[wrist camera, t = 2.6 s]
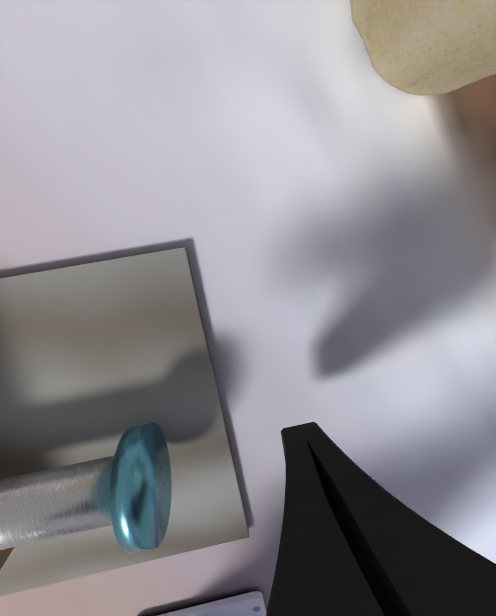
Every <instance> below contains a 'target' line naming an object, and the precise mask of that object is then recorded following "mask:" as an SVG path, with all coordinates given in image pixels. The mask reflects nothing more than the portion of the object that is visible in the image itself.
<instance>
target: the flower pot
mask: <svg viewBox="0 0 496 616" xmlns="http://www.w3.org/2000/svg"><path fill="white" fill-rule="evenodd" d="M350 3H351V13H352V19H353V22H354V24H355V27H356V28H357V30H358V31H359V33H360V35H361V38H362V40H363V42H364V44H365V47H366V50H367V52H368V55H369V57H370V60H371V63H372V65H373V68H374V69H375V71H376V72H377V73H378V74H379V75H380V76H381V77H382V78H383V79H384V80H385V81H386V82H388V83H389V84H390V85H392V86H394V87H395V88H397V89H399V90H401V91H404V92H406V93H410V94H415V95H439V94H445V93H448V92H451V91H454V90H457V89H459V88H461V87H464V86H466V85H468V84H470V83H473V82H475V81H478V80H480V79H483V78H485V77H488V76H491V75H493V74H496V0H350Z"/></svg>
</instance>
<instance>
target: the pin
mask: <svg viewBox="0 0 496 616" xmlns="http://www.w3.org/2000/svg"><path fill="white" fill-rule="evenodd" d="M171 493H172V481H171V465H170V457H169V451H168V447H167V443H166V439H165V436H164V434H163V431H162V429H161V428H160V426H159V425H158V424H157V423H154V422H152V423H147V424H142V425H138V426H133V427H130V428H128V429H127V430H126V431H125V432H124V434H123V435H122V437H121V439H120V441H119V443H118V446H117V449H116V452H115V455H114V456H109V457H105V458H100V459H95V460H90V461H86V462H81V463H76V464H72V465H67V466H62V467H57V468H53V469H48V470H43V471H39V472H34V473H29V474H24V475H20V476H15V477H10V478H6V479H1V480H0V550H4V549H8V548H12V547H17V546H21V545H26V544H30V543H34V542H39V541H43V540H48V539H52V538H56V537H61V536H65V535H70V534H74V533H78V532H83V531H87V530H92V529H96V528H100V527H105V526H109V525H113V530H114V534H115V537H116V540H117V542H118V544H119V546H120V548H121V549H122V550H123V551H124V552H125V553H128V554H131V553H136V552H140V551H144V550H149V549H153V548H157V547H158V546H159V545H160V544H161V543H162V541H163V539H164V536H165V534H166V530H167V527H168V522H169V517H170V509H171Z"/></svg>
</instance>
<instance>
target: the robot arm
mask: <svg viewBox="0 0 496 616" xmlns="http://www.w3.org/2000/svg"><path fill="white" fill-rule="evenodd" d="M281 435H282V442H283V449H284V455H285V462H286V487H285V504H284V515H283V524H282V532H281V539H280V546H279V552H278V559H277V564H276V570H275V575H274V580H273V585H272V590H271V594H270V599H269V604H268V609H267V613H266V608H265V604H264V599H263V595H262V593H261V592H259V591H253V592H249V593H245V594H241V595H237V596H233V597H229V598H225V599H221V600H217V601H213V602H209V603H205V604H201V605H197V606H193V607H189V608H185V609H181V610H177V611H173V612H169V613H165V614H161V615H157V616H496V564H495V563H493V562H491V561H490V560H488V559H486V558H485V557H483V556H481V555H480V554H478V553H476V552H475V551H473V550H471V549H470V548H468V547H466V546H465V545H463V544H462V543H460V542H459V541H457V540H456V539H454V538H452V537H451V536H449V535H448V534H446V533H445V532H443V531H442V530H440V529H439V528H437V527H436V526H434V525H432V524H431V523H429V522H428V521H426V520H425V519H424V518H422V517H421V516H419V515H418V514H417V513H415V512H414V511H412V510H411V509H410V508H408V507H407V506H406V505H404V504H403V503H402V502H400V501H399V500H398V499H396V498H395V497H394V496H392V495H391V494H390V493H389V492H387V491H386V490H385V489H384V488H383V487H381V486H380V485H379V484H378V483H377V482H375V481H374V480H373V479H372V478H371V477H370V476H368V475H367V474H366V473H365V472H364V471H363V470H362V469H361V468H359V467H358V466H357V465H356V464H355V463H354V462H353V461H352V460H351V459H350V458H349V457H348V456H347V455H346V454H345V453H344V452H343V451H342V450H341V449H340V448H339V447H338V446H337V445H336V444H335V443H334V442H333V441H332V440H331V439H330V438H329V437H328V436H327V435H326V434H325V433H324V432H323V430H322V429H321V428H320V427H319V426H318V425H317V424H316V423H315V422H311V423H306V424H302V425H297V426H292V427H288V428H283V430H282V431H281Z"/></svg>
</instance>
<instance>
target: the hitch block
mask: <svg viewBox="0 0 496 616" xmlns="http://www.w3.org/2000/svg"><path fill="white" fill-rule="evenodd" d="M152 422H154V423H157V424H158V425H159V426H160V428H161V429H162V431H163V434H164V436H165V439H166V443H167V447H168V451H169V457H170V465H171V481H172V493H171V509H170V517H169V522H168V527H167V530H166V534H165V536H164V539H163V541H162V543H161V544H160V545H159V546H158V547H157V548H153V549H149V550H144V551H140V552H136V553H131V554H128V553H125V552H124V551H123V550H122V549H121V548H120V546H119V544H118V542H117V540H116V537H115V534H114V530H113V525H109V526H105V527H100V528H96V529H92V530H87V531H83V532H78V533H74V534H70V535H65V536H61V537H56V538H52V539H48V540H43V541H39V542H34V543H30V544H26V545H21V546H17V547H12V548H8V549H4V550H0V596H3V595H7V594H11V593H15V592H19V591H24V590H28V589H32V588H36V587H41V586H45V585H49V584H53V583H57V582H62V581H66V580H70V579H74V578H78V577H83V576H87V575H91V574H95V573H100V572H104V571H108V570H112V569H116V568H121V567H125V566H129V565H133V564H138V563H142V562H146V561H150V560H154V559H159V558H163V557H167V556H171V555H175V554H180V553H184V552H188V551H192V550H197V549H201V548H205V547H209V546H213V545H218V544H222V543H226V542H230V541H234V540H239V539H243V538H247V537H249V530H248V525H247V521H246V516H245V512H244V507H243V503H242V498H241V494H240V489H239V485H238V480H237V476H236V471H235V467H234V462H233V458H232V453H231V449H230V444H229V440H228V435H227V431H226V426H225V422H224V417H223V413H222V408H221V404H220V399H219V395H218V390H217V386H216V381H215V377H214V372H213V368H212V363H211V359H210V354H209V350H208V345H207V341H206V336H205V332H204V327H203V323H202V318H201V314H200V309H199V305H198V300H197V296H196V291H195V287H194V282H193V278H192V273H191V269H190V264H189V260H188V255H187V251H186V247H180V248H174V249H168V250H162V251H156V252H150V253H144V254H138V255H132V256H126V257H120V258H115V259H109V260H103V261H97V262H91V263H85V264H79V265H73V266H67V267H61V268H55V269H50V270H44V271H38V272H32V273H26V274H20V275H14V276H8V277H2V278H0V480H1V479H6V478H10V477H15V476H20V475H24V474H29V473H34V472H39V471H43V470H48V469H53V468H57V467H62V466H67V465H72V464H76V463H81V462H86V461H90V460H95V459H100V458H105V457H109V456H114V455H115V452H116V449H117V446H118V443H119V441H120V439H121V437H122V435H123V434H124V432H125V431H126V430H127V429H128V428H130V427H133V426H138V425H142V424H147V423H152Z"/></svg>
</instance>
